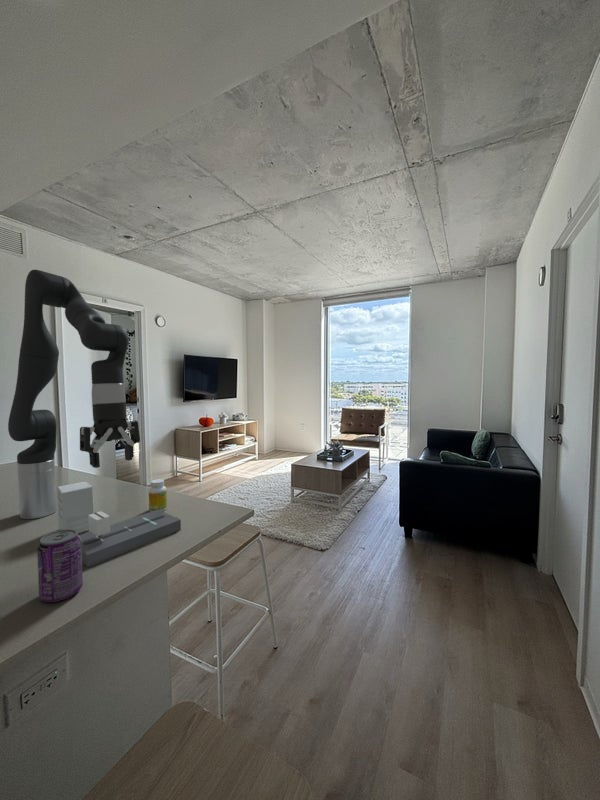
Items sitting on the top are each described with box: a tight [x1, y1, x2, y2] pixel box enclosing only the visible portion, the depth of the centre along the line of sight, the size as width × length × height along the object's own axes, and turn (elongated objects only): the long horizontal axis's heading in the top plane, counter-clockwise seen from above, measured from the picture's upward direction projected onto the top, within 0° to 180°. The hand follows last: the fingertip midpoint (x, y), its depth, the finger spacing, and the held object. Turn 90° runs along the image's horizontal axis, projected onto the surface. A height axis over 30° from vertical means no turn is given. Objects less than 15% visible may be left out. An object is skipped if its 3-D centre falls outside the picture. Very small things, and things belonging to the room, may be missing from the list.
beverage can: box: [36, 529, 84, 603], centre depth 66 cm, size 7×7×12 cm
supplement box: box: [56, 481, 94, 534], centre depth 94 cm, size 7×7×13 cm
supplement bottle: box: [148, 478, 168, 512], centre depth 109 cm, size 5×5×10 cm
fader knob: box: [88, 511, 111, 538], centre depth 83 cm, size 5×3×6 cm, turn 53°
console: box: [78, 510, 182, 568], centre depth 89 cm, size 12×24×3 cm, turn 143°
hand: (113, 463), depth 85 cm, fingers open, 8 cm apart
